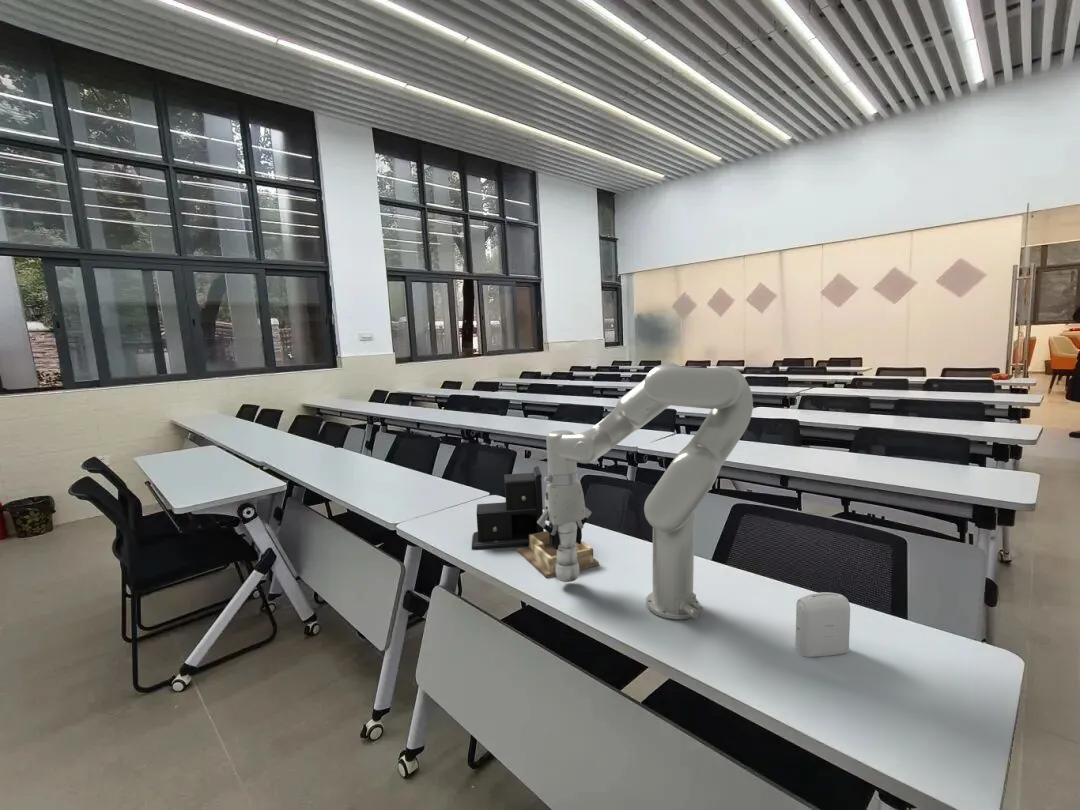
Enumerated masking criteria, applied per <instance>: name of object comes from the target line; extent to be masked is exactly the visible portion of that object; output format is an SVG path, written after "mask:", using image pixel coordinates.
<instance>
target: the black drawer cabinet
mask: <svg viewBox="0 0 1080 810" xmlns="http://www.w3.org/2000/svg"><path fill="white" fill-rule="evenodd" d="M503 476H504V478H503V480H504V481H503V483H504V493H505V494H504V495H505V496H504V497H505V501H503V502H491V503H477V504H476V526H477V528H476V529H477V531H475V532H473V534H472V537H471V550H472V549H476V550H486V549H488V550H489V549H499V548H500V549H501V548H513V547H528V546H529V535H530V534H535V533H540V532H545V529H544V528H543V527H541V526H540V525H539V524H538V523H537V521H538V520H539V518H540V517H541V515H542V514H543V513H544V511H543V510H544V509H543V507H544V505H543V488H542V487H543V486H542V485H543V484H542V479H543V477H542V473H541V470H540V467H539V466H538V465H537V466H535V467H534V468H533V469H532V472H526V473H524V472H523V473H510V474H509V473H508V474H504V475H503Z"/></svg>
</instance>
